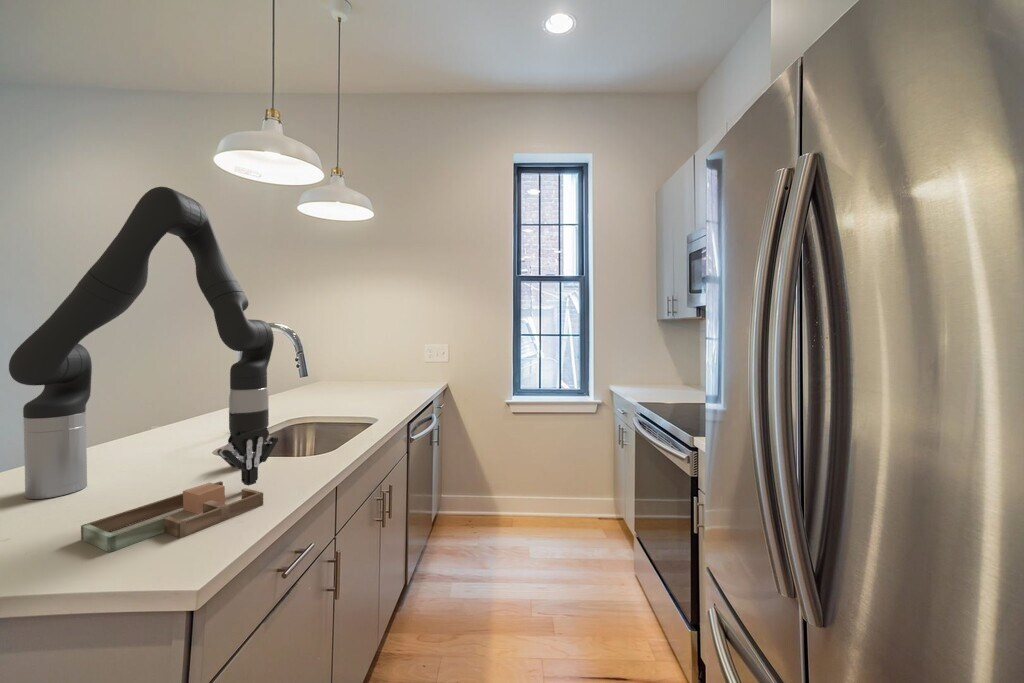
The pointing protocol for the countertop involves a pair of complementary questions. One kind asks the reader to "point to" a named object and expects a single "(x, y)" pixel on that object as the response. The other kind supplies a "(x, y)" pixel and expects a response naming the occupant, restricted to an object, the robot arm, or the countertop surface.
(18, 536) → the countertop surface
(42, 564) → the countertop surface
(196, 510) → the terracotta block
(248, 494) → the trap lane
